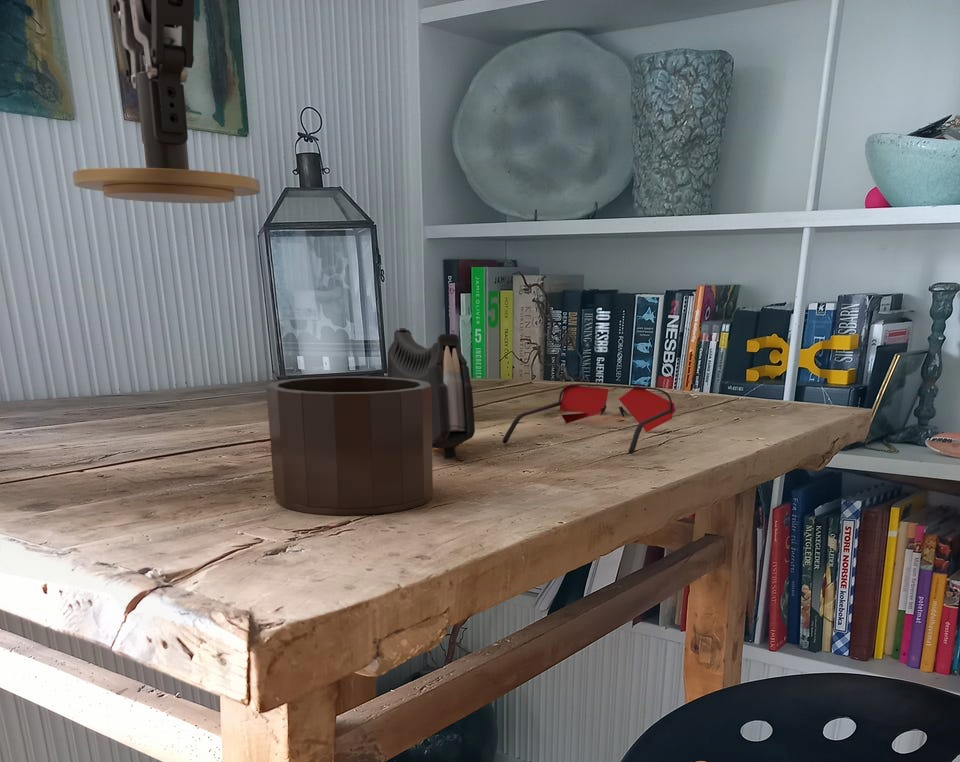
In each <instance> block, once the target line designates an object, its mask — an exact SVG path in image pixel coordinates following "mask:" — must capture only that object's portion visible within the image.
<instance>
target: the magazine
mask: <svg viewBox="0 0 960 762" xmlns="http://www.w3.org/2000/svg"><path fill="white" fill-rule="evenodd" d="M467 364H468V361H467V359H466V358H465V357H464V355H463V354H462V351H461V347H460V338H459V336H458V334H457V333H456V334H455V333H443V334H442V333H441V334H440V335H438V337H437V341H436V342H434V343H433V344H432V345H431V346H430V347H429V348H426V347H425V346H423V345H421V344H419V343H417V342H416V340H415V339H414V338H413V335H412V332H411V331H410V329H407V328H405V327H399V328H398V329H396V330H395V331H394V332H393V341H392V343H391V344H390V346H389V348H388V351H387V369H386V370H387V373H386V374H387V375H386V377H393V378H405V379H415V380H420V381H425V382H428V383H429V384H430V385H431V386H432V449H439V450H441V449H442V453H443V459H456V448H457V447H459V446H460V445H462V444H464V443H465V442H467V441H468V440H471V439H472V438H473V437H474V436H475V432H476V424H475V411H474V408H475V407H474V397H473V396H474V394H473V386H472V382H471V375H470V368H469V366H468V365H467Z"/></svg>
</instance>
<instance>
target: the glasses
mask: <svg viewBox="0 0 960 762" xmlns="http://www.w3.org/2000/svg"><path fill="white" fill-rule="evenodd" d="M609 388H618V389H619V388H620V389H630V390H629V391H627V392H626V393H624V394H623V395H621V396H620V397H619V398H618V401H619V402H620V403H621V404H622V405H623V406H624V407H623V406H622V405H621V406H618V409H619V412H620V414H621V416H622V417H623V418H625V416H627V415H628V414H627V412H626V410H627V411H628V413H630V414H631V416H632V417H633V418H634V419H635V421H636V422H637V423H638V424H637V426H636V428H635V430H634V433H633V435H632V438H631V442H630V445H629V448H628V453H629V454H630V455H634V453H635V450H636V447H637V443H638V441H639V437H640V435H641V431H642V429H643V430H644V431H645V432H646V433H648V432H650V431H651V430H653V429H656V428H657V427H659V426H661V425H663V424H665V423H667V422H668V421H671V420H672V419H673V415H674V414H675V413H676V410H677V408H676V406H675V403H674V402H673V401H672V398H671V396H670V394H669V393H668V392H667V391H665V390H664V389H661V388H656V387H650V386H640V385H638V384H637V385H634V386H629V385H614V384H613V385H611V384H600V383H597V384H595V383H572V384H564V387H563V388H562V389H561V391H560V393H559V396H558V401H557V402H554V403H551V404H547V405H545V406H541V407H538V408H534V409H531V410H528V411H526V412H525V411H524V412H522V413H519V414H518V415H517V416H516V417H515V418H514V420H513V421H512V423H511V424H510V426H509V427H508V429H507V431H506V433H505V435H504V436H503V438H502V439H501V440H502V443H503V444H507V443H508V441H509V440H510V438H511V436H512V434H513V433H514V431H515V429H516V427H517V426H518V424H519V423H520V421H521V420H522V419H523V418H524V417H527V416H529V415H532V414H536V413H540V412H543V411H546V410H550V409H552V408H556V407H559V409H558V411H559V412H570V413H565V414H560V416H561V417H562V419H563V421H564V422H565V424H571V423H573V422H576V421H579V420H582V419H587V418H589V417H592V416H595V415H600V416H602V415H603V414H604V413H605V412H606V409H607V407H608V406H607V402H608V395H609ZM651 390H652V391H656V392H661V393H663V394H664V395H665V396H667V398H668V399H666V398H665V397H662V396H660V395H658V394H656V393H655V392H652V391H651ZM624 408H625V409H626V410H625V409H624Z"/></svg>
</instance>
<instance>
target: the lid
mask: <svg viewBox="0 0 960 762" xmlns="http://www.w3.org/2000/svg"><path fill="white" fill-rule="evenodd" d="M150 81H155V79H149V78H148V75H147V72H146V71H143V72H139V73H137V84H138V89H137V90H138V94H139V104H140V114H141V123H142V133H143V142H142V144H143V143H144V144H143V152H144V153H143V154H144V161H145V167H93V168H91V167H90V168H82V169H77V170H74V171H73V172H72V180H73V185H74V186H76V187H77V188H81V189H85V190H91V191H99V192H102V193H103V196H104V197H106V198H110V199H116V200H124V201H135V202H151V203H171V204H174V203H175V204H226V203H233V202H235V197H249V196H255V195H259V194H260V193H261V187H260V185H261V184H260V180H259V179H257V178H255V177H251V176H246V175H242V174H235V173H227V172H219V171H210V170H209V171H208V170H196V169H190V163H189V152H188V141H187V142H186V143H184V144H181V145H176V144H164V143H159V142H157V141H156V139H155V138H154V132H153V122H152V112H151V102H150V91H149V82H150ZM180 84H182V85H183V83H182V82H180Z"/></svg>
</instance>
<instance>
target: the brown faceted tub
mask: <svg viewBox="0 0 960 762" xmlns="http://www.w3.org/2000/svg"><path fill="white" fill-rule="evenodd" d="M266 399H267V413H268V428H269V443H270V455H271V468H272V482H273V483H272V485H273V495H274V498H275V502H276V504H277V505H279V506H280V507H283V508H284V509H288V510H292V511H296V512H301V513H308V514H315V515H324V516H325V515H326V516H330V515H331V516H367V515H381V514H389V513H390V514H391V513H396V512H401V511H406V510H410V509H414V508H418V507H421V506H423V505H425V504H427V503H429V502H430V500H432V497H433V491H434V485H433V484H434V477H433V475H434V474H433V473H434V472H433V470H434V469H433V465H434V464H433V448H432V386H431V385H430V384H429V383H428V382H425V381H420V380H415V379H405V378H393V377H387V376H365V375H363V376H362V375H361V376H360V375H359V376H358V375H357V376H356V375H354V376H353V375H352V376H347V375H346V376H319V377H316V376H315V377H300V378H291V379H283V380H277V381H274V382H269V383H268V384H267V386H266Z"/></svg>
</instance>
